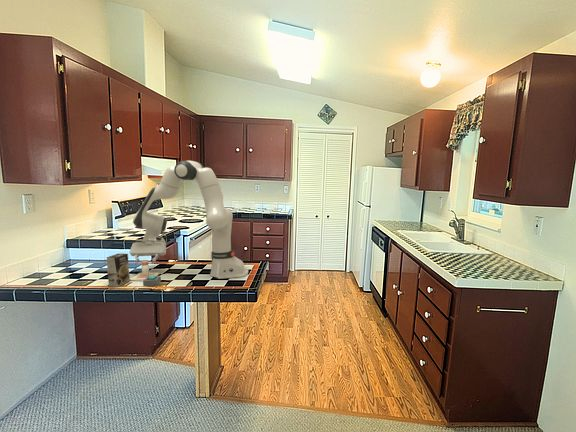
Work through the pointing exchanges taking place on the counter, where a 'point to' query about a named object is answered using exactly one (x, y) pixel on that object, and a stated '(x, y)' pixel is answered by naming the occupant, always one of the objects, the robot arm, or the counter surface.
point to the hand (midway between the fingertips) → (145, 261)
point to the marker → (145, 268)
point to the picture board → (141, 278)
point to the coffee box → (118, 270)
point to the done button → (152, 277)
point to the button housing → (152, 281)
